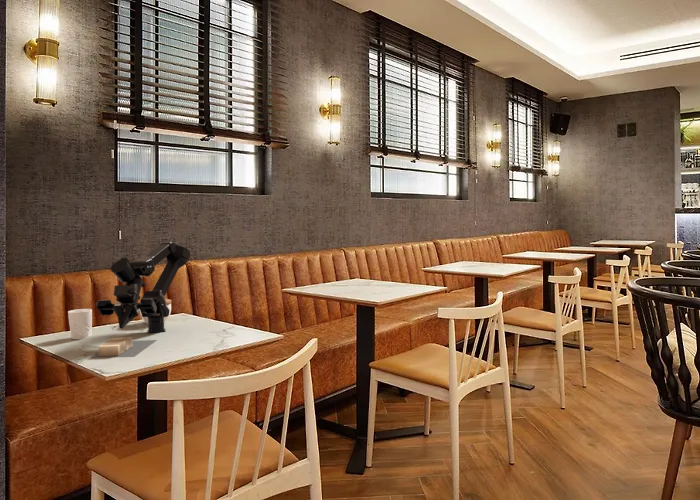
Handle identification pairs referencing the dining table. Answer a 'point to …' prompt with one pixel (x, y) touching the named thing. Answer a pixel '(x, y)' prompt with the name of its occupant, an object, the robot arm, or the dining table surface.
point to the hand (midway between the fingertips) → (120, 327)
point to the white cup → (80, 323)
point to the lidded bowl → (168, 304)
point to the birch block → (115, 346)
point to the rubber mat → (130, 349)
